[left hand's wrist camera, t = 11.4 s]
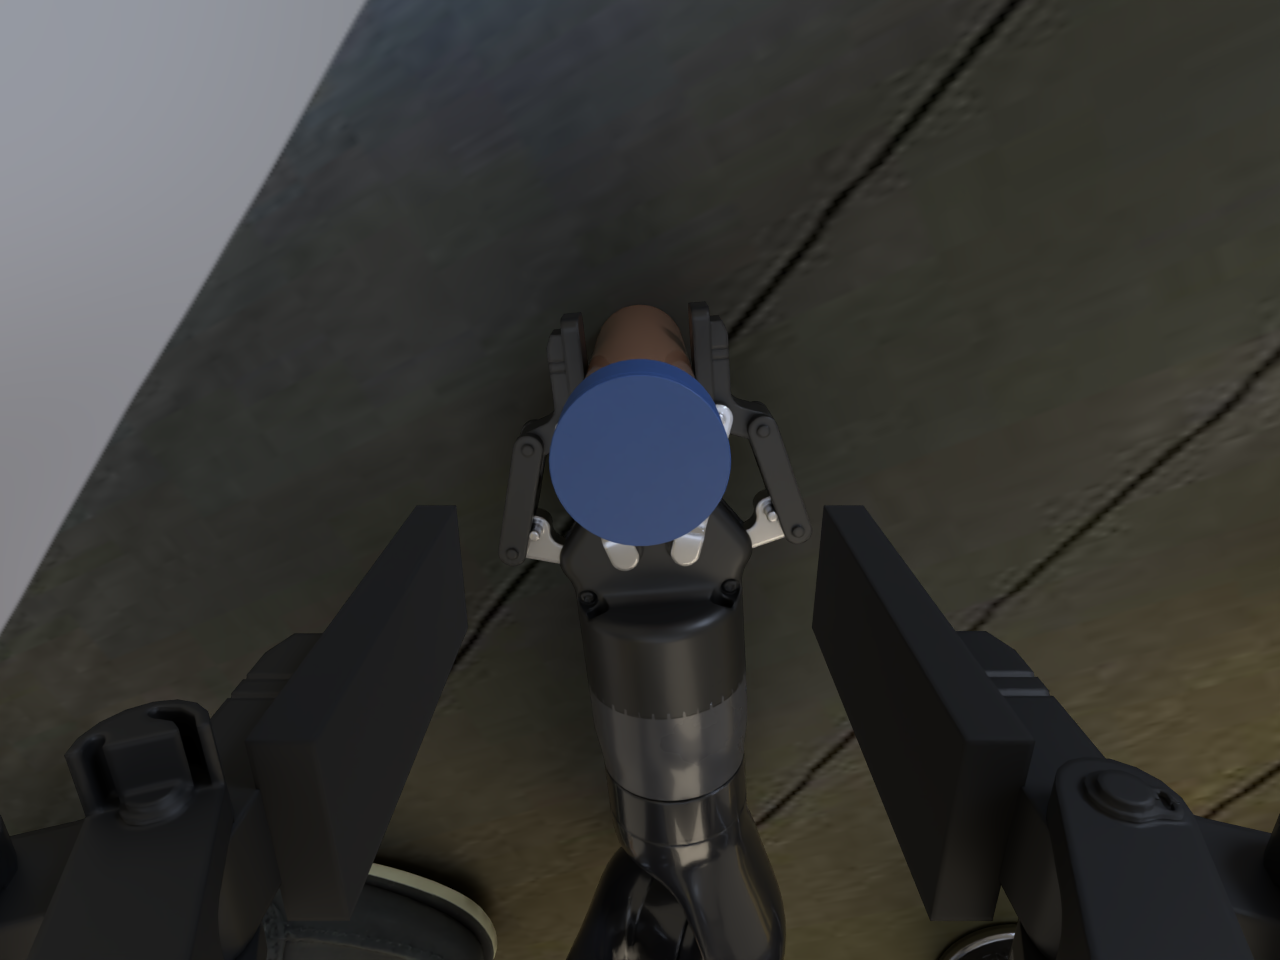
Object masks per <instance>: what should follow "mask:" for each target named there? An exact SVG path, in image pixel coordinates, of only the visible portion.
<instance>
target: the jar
mask: <svg viewBox="0 0 1280 960" xmlns="http://www.w3.org/2000/svg"><path fill="white" fill-rule="evenodd" d="M631 359H648V360H656V361H660V362H664V363H668V364H670V365H673V366H675V367H678V368H679V369H681V370H683V371H685V372H687V373H688V374H689V375H691V376H692V377H693V378H695V377H694V373H693V370H692V367H691V364H690V360H689V357H688V354H687V351H686V348H685V344H684V341H683V338H682V335H681V332H680V330H679V328H678V326H677V324H676V323H675V322H674V321H673V319H672V318H671V317H670V316H669V315H667V314H666V313H665V312H663V311H661V310H660V309H657V308H655V307H652V306H647V305H633V306H628V307H625V308H623V309H620V310H619V311H617V312H615V313H614V314H613V315H611V316H610V317H609V318H608V319H607V320H606V322H605V323H604V325H603V326H602V328H601V330H600V332H599V335H598V338H597V341H596V344H595V348H594V351H593V354H592V357H591V360H590V364H589V367H588V370H587V373H586V376H585V378H587V377H588V376H589V375H591V374H592V373H594V372H595V371H597V370H599V369H600V368H603V367H605V366H607V365H610V364H612V363H616V362H619V361H624V360H631Z"/></svg>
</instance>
